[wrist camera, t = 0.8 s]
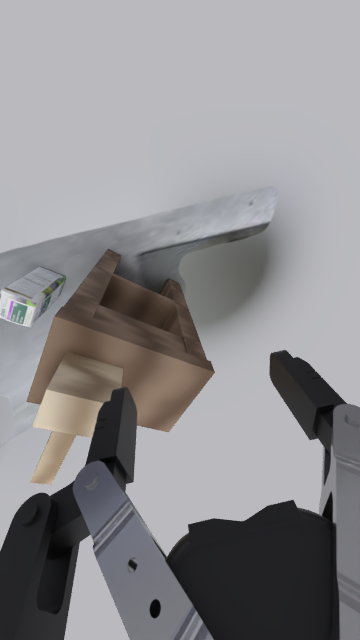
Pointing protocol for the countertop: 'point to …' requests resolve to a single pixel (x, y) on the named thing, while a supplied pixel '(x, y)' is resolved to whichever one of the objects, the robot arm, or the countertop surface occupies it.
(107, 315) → the shelf
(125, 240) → the countertop surface
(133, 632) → the robot arm
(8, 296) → the syrup box
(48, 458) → the mallet
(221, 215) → the countertop surface
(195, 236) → the countertop surface
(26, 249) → the countertop surface
